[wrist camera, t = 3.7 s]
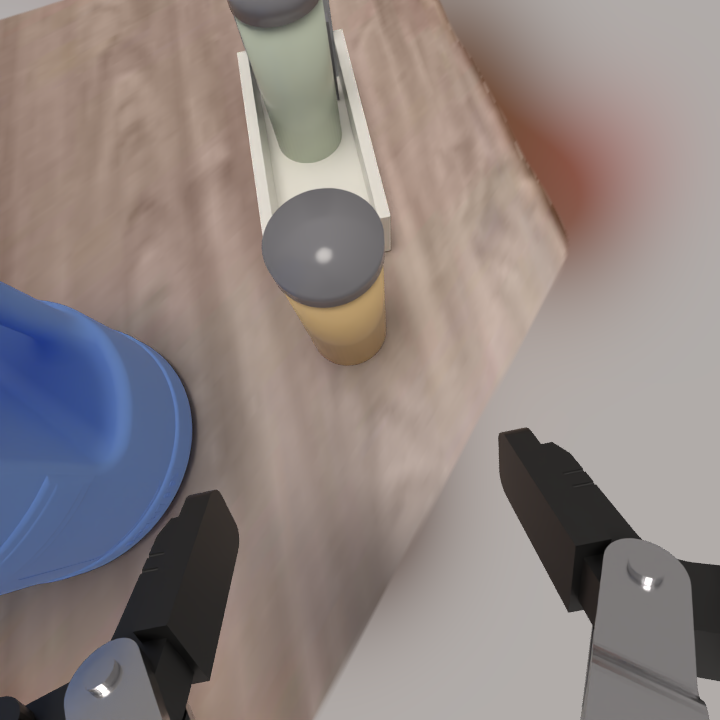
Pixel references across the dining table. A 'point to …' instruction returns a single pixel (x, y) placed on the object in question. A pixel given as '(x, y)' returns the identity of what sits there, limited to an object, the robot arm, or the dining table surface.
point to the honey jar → (331, 270)
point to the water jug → (81, 441)
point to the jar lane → (340, 170)
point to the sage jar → (293, 73)
